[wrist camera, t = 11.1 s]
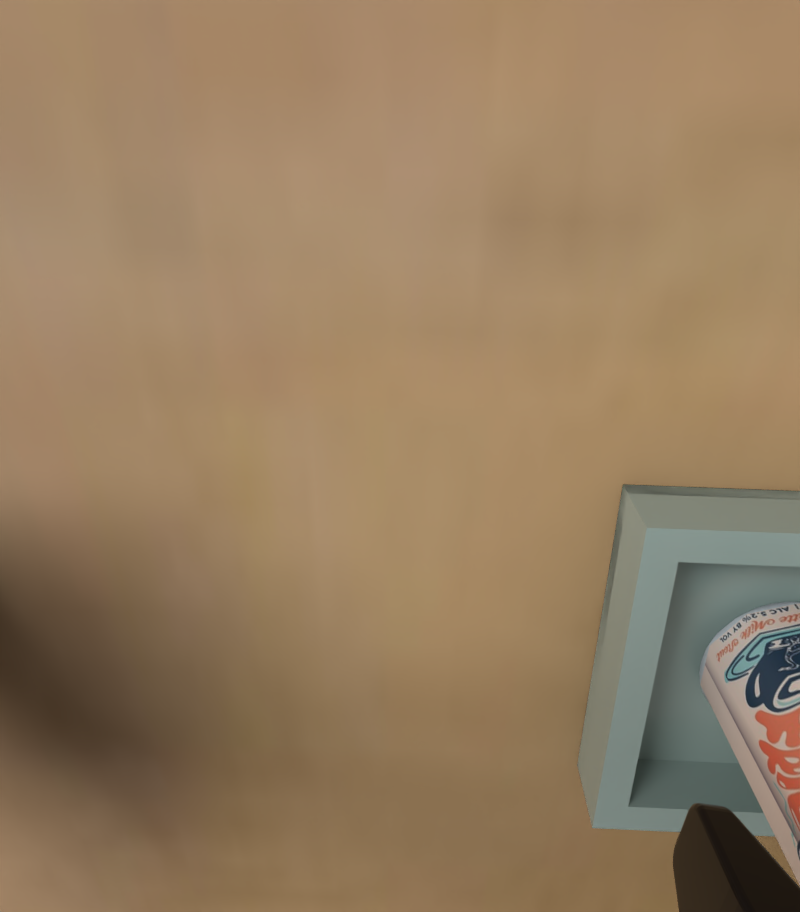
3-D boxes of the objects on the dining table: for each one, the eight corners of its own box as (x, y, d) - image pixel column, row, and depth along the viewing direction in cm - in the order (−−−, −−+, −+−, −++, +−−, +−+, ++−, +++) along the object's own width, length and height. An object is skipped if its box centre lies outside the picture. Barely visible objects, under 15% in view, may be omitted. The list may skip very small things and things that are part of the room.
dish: (577, 764, 26) (592, 827, 24) (622, 484, 22) (647, 527, 20) (892, 778, 26) (939, 843, 24) (1002, 498, 22) (1073, 544, 19)
